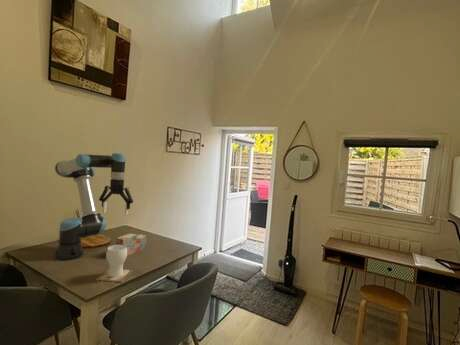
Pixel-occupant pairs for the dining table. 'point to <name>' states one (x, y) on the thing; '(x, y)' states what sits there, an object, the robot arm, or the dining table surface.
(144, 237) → the stack of blocks
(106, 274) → the picture frame
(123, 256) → the cup
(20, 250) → the dining table surface
